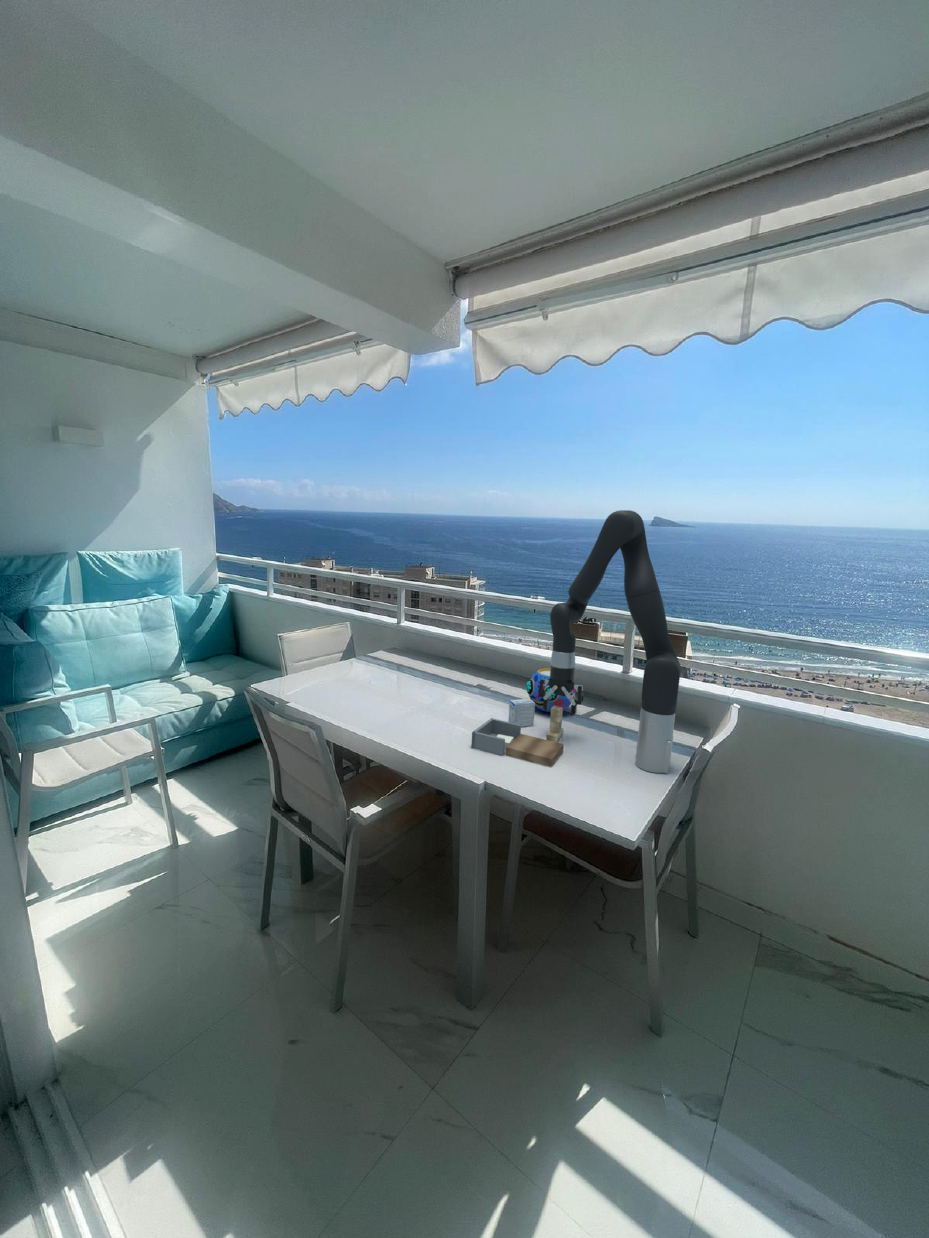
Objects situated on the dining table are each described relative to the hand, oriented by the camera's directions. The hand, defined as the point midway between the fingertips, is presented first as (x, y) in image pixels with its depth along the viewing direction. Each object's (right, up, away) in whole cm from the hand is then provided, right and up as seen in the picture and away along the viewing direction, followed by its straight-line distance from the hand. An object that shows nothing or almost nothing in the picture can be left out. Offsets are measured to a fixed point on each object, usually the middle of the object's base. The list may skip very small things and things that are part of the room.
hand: (559, 712), depth 156 cm
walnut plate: (-10, -10, -11) cm, 18 cm away
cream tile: (-19, -9, -6) cm, 22 cm away
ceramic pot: (+2, -4, +27) cm, 27 cm away
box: (-21, -9, -5) cm, 23 cm away
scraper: (-2, -9, 0) cm, 9 cm away
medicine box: (-11, -7, +11) cm, 17 cm away
